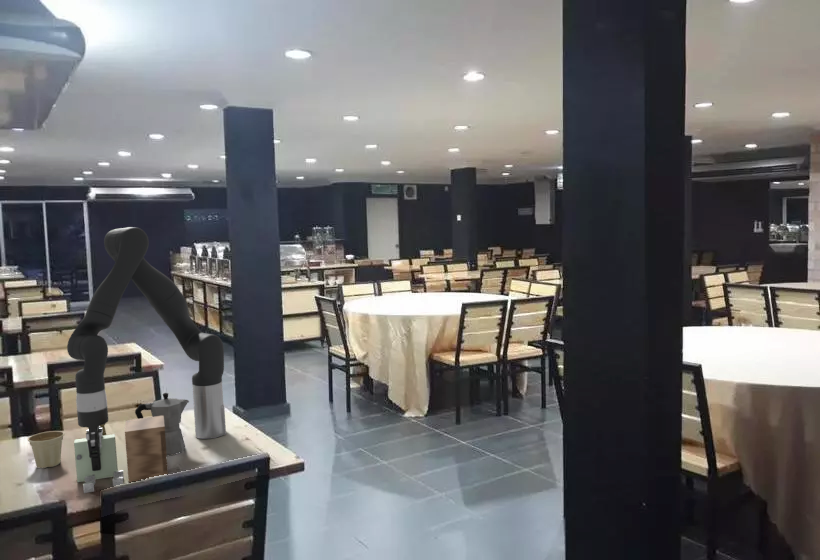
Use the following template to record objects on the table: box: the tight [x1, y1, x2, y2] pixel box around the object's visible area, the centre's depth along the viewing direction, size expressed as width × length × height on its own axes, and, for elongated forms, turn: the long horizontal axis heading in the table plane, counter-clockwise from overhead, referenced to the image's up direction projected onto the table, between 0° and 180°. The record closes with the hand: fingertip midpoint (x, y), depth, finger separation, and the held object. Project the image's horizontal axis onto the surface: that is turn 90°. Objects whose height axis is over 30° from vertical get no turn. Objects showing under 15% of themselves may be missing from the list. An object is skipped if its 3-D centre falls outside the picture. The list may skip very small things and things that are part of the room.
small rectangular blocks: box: [82, 469, 125, 494], centre depth 177 cm, size 9×6×2 cm, turn 112°
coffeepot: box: [134, 392, 190, 456], centre depth 201 cm, size 15×9×18 cm, turn 116°
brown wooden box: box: [124, 415, 169, 483], centre depth 185 cm, size 10×11×14 cm
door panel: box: [73, 433, 119, 483], centre depth 182 cm, size 10×4×11 cm, turn 112°
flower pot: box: [27, 430, 65, 469], centre depth 193 cm, size 9×9×9 cm
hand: (97, 467), depth 183 cm, fingers closed on door panel, 3 cm apart
